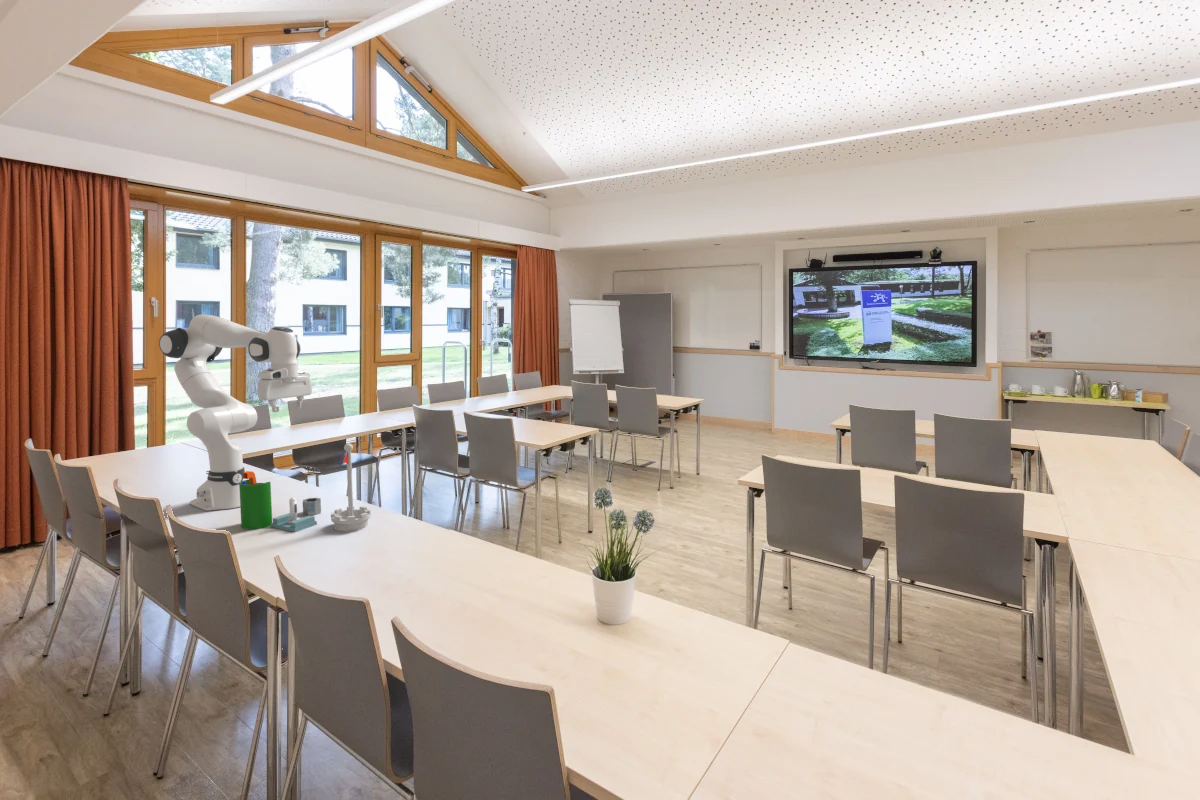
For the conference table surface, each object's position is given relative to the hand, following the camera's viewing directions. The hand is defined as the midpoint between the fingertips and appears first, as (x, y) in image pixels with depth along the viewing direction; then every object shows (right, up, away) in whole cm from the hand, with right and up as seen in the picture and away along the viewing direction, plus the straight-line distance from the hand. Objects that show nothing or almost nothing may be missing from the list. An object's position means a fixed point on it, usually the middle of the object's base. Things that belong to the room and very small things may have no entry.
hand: (287, 410), depth 226 cm
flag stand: (+26, -42, -5) cm, 49 cm away
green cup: (-8, -41, -6) cm, 42 cm away
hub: (+5, -39, +8) cm, 40 cm away
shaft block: (+6, -41, -6) cm, 42 cm away
